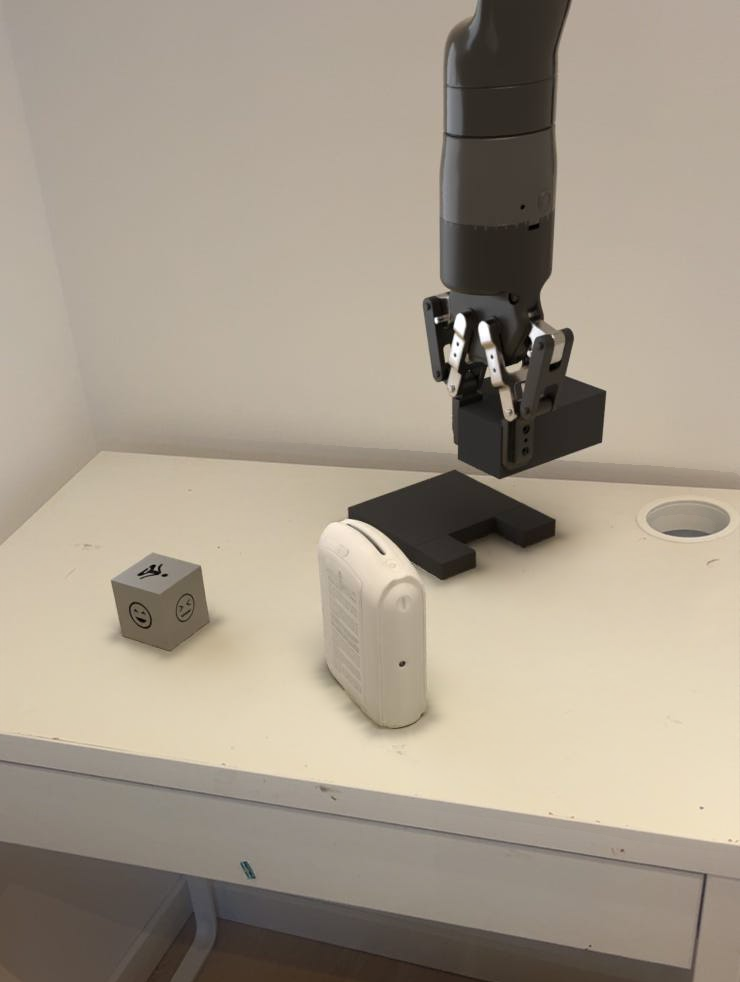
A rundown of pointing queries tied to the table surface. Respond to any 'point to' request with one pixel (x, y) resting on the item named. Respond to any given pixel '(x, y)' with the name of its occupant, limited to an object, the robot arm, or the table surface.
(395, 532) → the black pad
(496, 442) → the black t-shaped block
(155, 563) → the dice cube
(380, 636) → the photo printer
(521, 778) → the table surface
